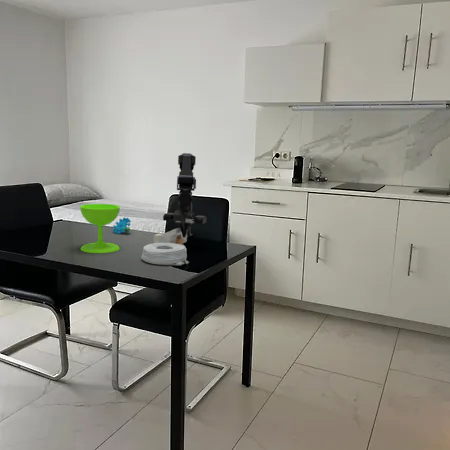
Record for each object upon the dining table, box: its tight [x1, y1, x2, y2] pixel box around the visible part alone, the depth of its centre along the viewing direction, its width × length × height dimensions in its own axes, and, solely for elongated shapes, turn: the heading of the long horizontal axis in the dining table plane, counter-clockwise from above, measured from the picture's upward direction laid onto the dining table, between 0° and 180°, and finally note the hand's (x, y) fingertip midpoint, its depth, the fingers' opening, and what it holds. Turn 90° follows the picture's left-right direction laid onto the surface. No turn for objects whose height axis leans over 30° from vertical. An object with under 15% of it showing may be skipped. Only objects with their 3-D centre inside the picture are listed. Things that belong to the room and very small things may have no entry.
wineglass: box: [79, 203, 121, 254], centre depth 189 cm, size 16×16×18 cm
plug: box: [153, 233, 184, 245], centre depth 205 cm, size 4×13×4 cm, turn 70°
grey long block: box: [159, 227, 188, 244], centre depth 203 cm, size 20×5×6 cm, turn 163°
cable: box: [141, 242, 190, 266], centre depth 177 cm, size 18×18×6 cm
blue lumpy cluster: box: [112, 217, 132, 235], centre depth 226 cm, size 11×6×10 cm
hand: (184, 237), depth 202 cm, fingers closed
